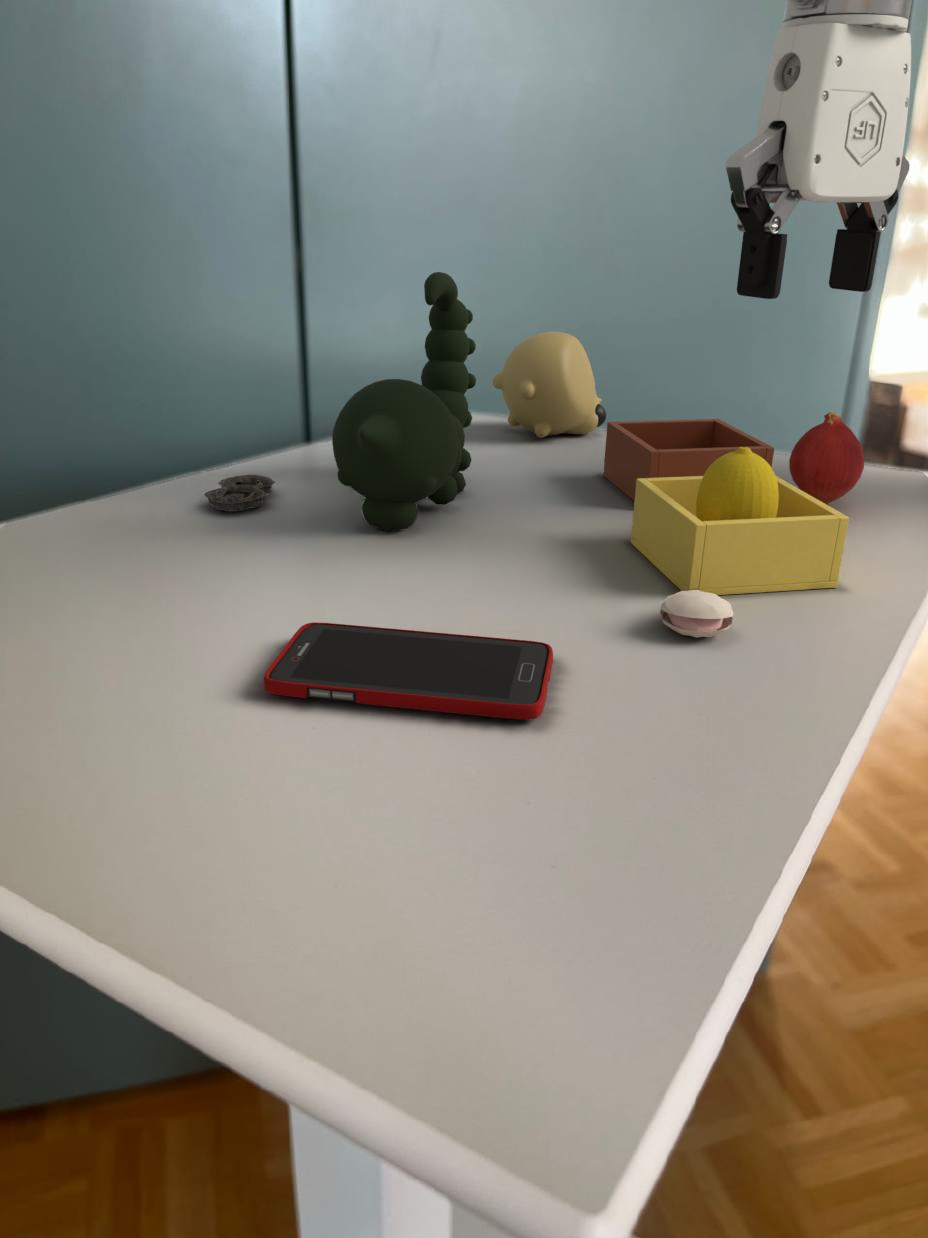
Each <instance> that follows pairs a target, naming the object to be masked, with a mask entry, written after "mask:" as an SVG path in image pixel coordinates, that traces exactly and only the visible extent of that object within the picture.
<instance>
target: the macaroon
mask: <svg viewBox="0 0 928 1238" xmlns="http://www.w3.org/2000/svg"><path fill="white" fill-rule="evenodd" d="M659 614H660V617H661V619H662V623H663V625H665V626H666V627H668V628H670V629H671V630H673V631H674V632H676V633H677V634H680V635H682V636H689V637H693V638H696V639H697V638H702V637H704V638H711V637H714V636H716V635H718V634H719V635H720V634H721V633H723V632H726V631H727V630H729V629H730V627H731V626H732V624H733V620H734V618H733V617H734V611H733V608H732V605H731V603H730V602H729V601H728V600H726V599H723V598H722V597H721V596H720V595H716V594H713V593H708V592H703V591H699V590H692V591H681V590H680V591H678V592H676V593H674V594H670V595H667V596H666V597H665V599H664V600H663V602H662V603H661V605H660V612H659Z"/></svg>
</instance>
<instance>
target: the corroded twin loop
mask: <svg viewBox="0 0 928 1238" xmlns="http://www.w3.org/2000/svg"><path fill="white" fill-rule="evenodd" d="M275 483H276V481H275V480H274V479H273V478H271V477H269V476H264V475H260V474H242V475H234V476H231V477H230V476H229V477H226V478H223V479H221V480H219V482H217V484H218V485H219V486H221V487H218V488H214V489H211V490H207V491H206V492H204V496H205V497H206V498H207V501H208V503H209V504H210V505H211V506H212V507H213V508H215V509H217V510H220V511H225V512H237V511H245V510H248V509H252V508H259V507H261V506H262V505H263V502H264V501H263V500H264V499H263V498H264V497H265V496H267V495H269V494H271V492H272V491H271V490H272V486H273V485H275Z"/></svg>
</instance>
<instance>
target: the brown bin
mask: <svg viewBox="0 0 928 1238" xmlns="http://www.w3.org/2000/svg"><path fill="white" fill-rule="evenodd" d="M606 423H607V424H606V438H605V447H604V460H603V461H604V462H603V477H604V478H605V479H607V480H608V481H609V482H610V483H611V484H613V485H614V486H615V487H616V488H617V489H619V490H620V491H621V492H622V493H624V494H625V495H626V496H627V497H628V498H630V499H631V500H632V501H633V502H635V491H636V480H637V479H639V478H645V479H646V478H662V477H688V476H704V474H705V472H706V470H707V469H708V468H709V466H710V465H711V464H712V463H713V462H714V461H715V460H717V459H718V458H719V457H721V456H723V455H725V454H727V453H730V452H734V451H736V450H737V449H738V448H739V447H748V448H750V450H751V451H752V453H755V454H757V455H758V456H760V457H762V458H763V459H764V460H766V462H767V463H768V464H769V465H770V466H771V468H772V469H773V461H774V454H775V447H774V446H771V445H770V444H768V443H766V442H764V441H763V440H760V439H759V438H756V437H754V436H752V435H750V434H749V433H747V432H745V431H742V430H741V429H739V428H737V427H735V426H733V425H731V424H729V423H727V422H725V421H724V420H721V419H719V418H704V419H703V418H701V419H699V418H698V419H665V420H628V421H627V420H626V421H607V422H606Z"/></svg>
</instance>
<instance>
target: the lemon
mask: <svg viewBox="0 0 928 1238" xmlns="http://www.w3.org/2000/svg"><path fill="white" fill-rule="evenodd" d="M776 476H777V475H776V473H775V471H774V469H773V467H772V468H771V466H770V465H769V464H768V463H767V462H766V460H764V459H763V458H762V457H760V456H758V455H757V454H755V453H752V451H751V450H750V448H748V447H739V448H738V449H737V450H736V451H734V452H730V453H727V454H725V455H723V456H721V457H719V458H718V459H717V460H715V461H714V462H713V463H712V464H711V465H710V466H709V468H708V469H707V470H706V472H705V474H704V476H703V478H702V481H701V483H700V486H699V490H698V494H697V501H696V515H697V518H698V519H699V520H701V521H702V522H703V521H719V520H740V519H760V518H776V515H777V510H778V502H779V491H778V483H777V478H776Z"/></svg>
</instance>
